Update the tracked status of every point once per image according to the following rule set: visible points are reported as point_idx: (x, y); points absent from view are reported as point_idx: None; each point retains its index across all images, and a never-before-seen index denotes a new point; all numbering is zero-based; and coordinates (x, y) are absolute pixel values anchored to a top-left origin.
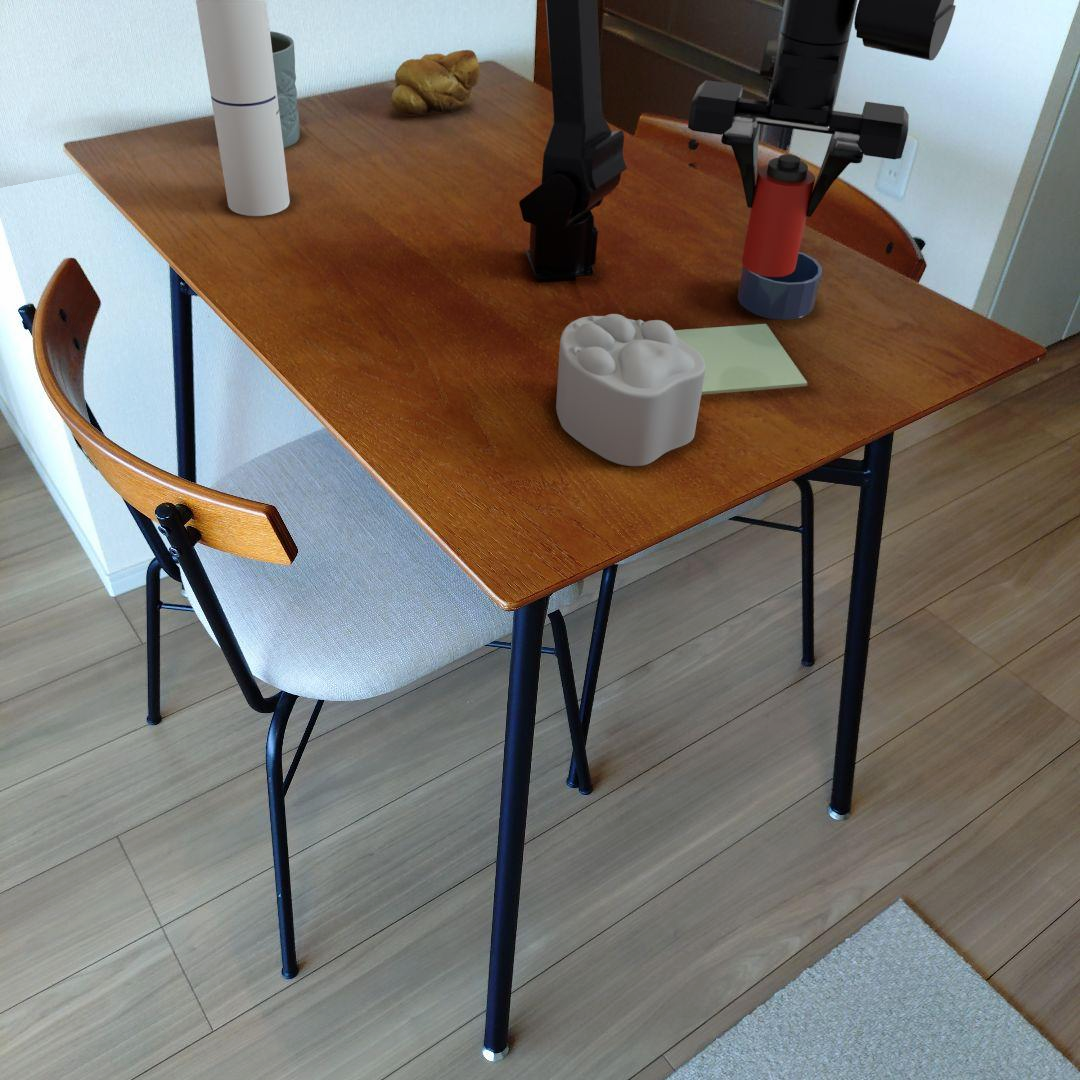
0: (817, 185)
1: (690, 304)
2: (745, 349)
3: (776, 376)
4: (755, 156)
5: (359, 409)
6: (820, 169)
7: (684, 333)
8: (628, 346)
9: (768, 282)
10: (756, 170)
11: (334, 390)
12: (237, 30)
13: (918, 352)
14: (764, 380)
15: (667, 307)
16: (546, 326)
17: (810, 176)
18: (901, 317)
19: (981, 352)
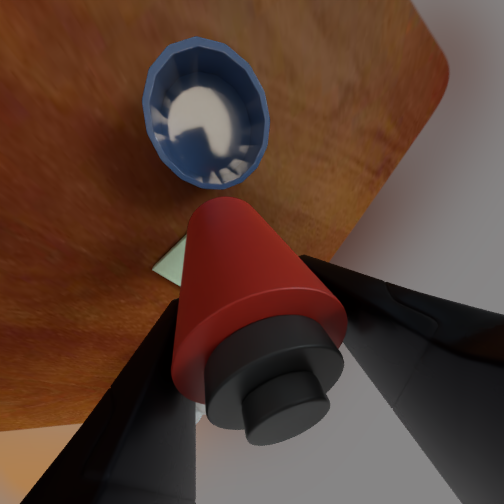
0: (356, 358)
1: (128, 193)
2: None
3: None
4: (169, 493)
5: (72, 415)
6: (377, 321)
7: (170, 261)
8: (201, 411)
9: (215, 188)
10: (161, 371)
11: (40, 419)
12: None
13: (355, 149)
14: None
15: (113, 215)
16: (56, 310)
17: (335, 323)
18: (344, 70)
19: (408, 112)
